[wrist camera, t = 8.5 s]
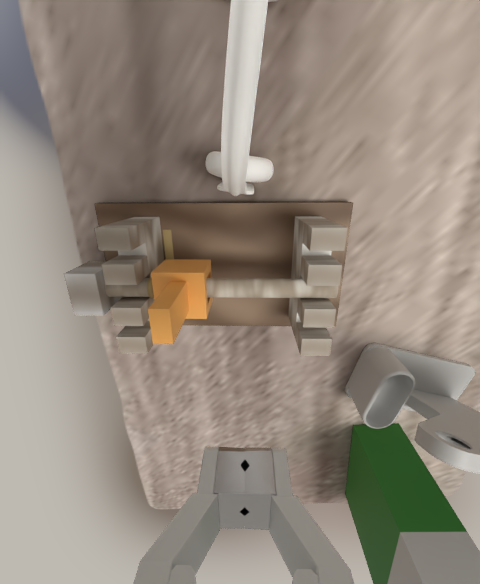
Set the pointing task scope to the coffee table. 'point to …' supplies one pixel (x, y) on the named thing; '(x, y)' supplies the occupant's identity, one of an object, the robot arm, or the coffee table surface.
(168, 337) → the sleeve
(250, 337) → the coffee table surface
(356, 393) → the phone holder
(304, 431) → the coffee table surface
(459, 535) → the hardback book
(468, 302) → the coffee table surface
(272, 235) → the cord comb board
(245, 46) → the headset
